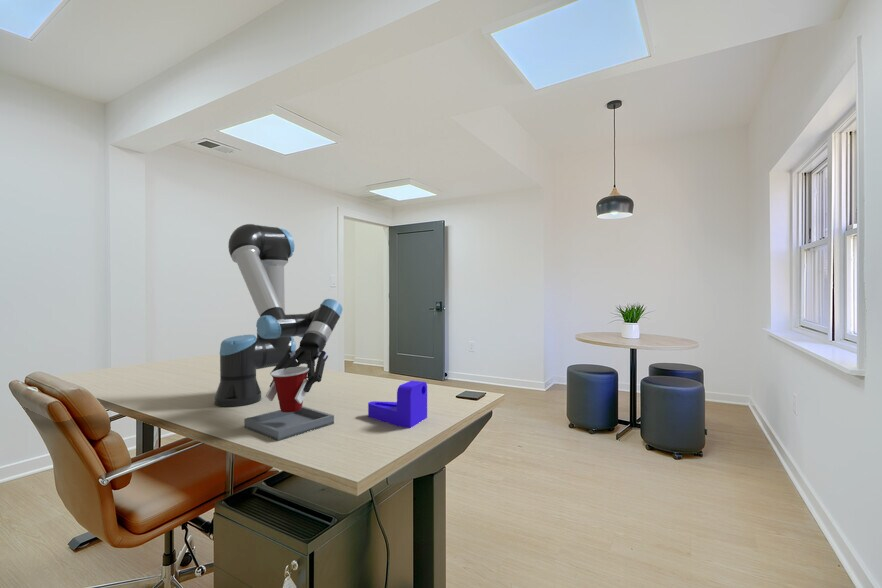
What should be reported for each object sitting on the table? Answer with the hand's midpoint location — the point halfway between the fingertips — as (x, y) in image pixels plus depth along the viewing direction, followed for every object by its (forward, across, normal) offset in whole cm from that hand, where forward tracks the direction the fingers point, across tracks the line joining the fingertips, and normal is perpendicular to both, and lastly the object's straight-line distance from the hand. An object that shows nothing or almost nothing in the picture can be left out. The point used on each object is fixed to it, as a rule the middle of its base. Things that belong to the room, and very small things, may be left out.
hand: (283, 399), depth 117 cm
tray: (+4, 0, -8) cm, 9 cm away
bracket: (-7, -26, -19) cm, 33 cm away
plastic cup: (+1, 0, -5) cm, 5 cm away
